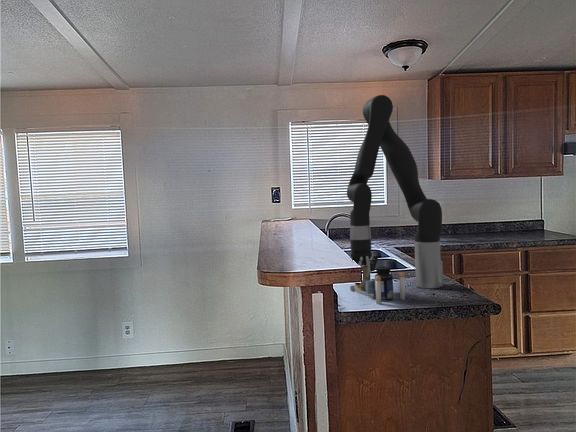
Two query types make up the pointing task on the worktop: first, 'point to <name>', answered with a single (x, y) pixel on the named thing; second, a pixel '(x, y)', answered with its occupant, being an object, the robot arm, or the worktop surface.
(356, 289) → the rail
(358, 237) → the robot arm
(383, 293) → the pill bottle
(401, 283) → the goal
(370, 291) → the kicker
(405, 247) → the worktop surface
